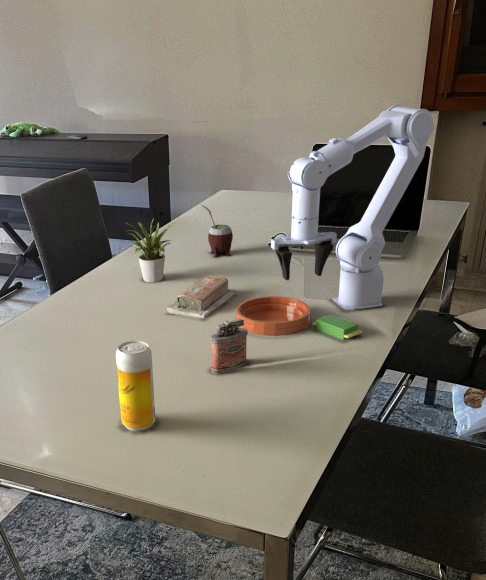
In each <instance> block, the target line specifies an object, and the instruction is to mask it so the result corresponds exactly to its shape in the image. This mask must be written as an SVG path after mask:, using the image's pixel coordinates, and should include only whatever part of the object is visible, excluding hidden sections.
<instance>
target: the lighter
mask: <svg viewBox="0 0 486 580" xmlns="http://www.w3.org/2000/svg"><path fill="white" fill-rule="evenodd" d="M240 326H244V320H243V319H242V318H240V319H237V320H236V319H233V320H231V321H229V320H224V321H223V322H222V323H221V324H217V325H215V328H216V329H215V330H216V333H214V334H212V335H211V336H210V342H211V367H210V368H211V369H210V370H211V373H212V374H216V375H220V374H225V373H230V372H234V371H237V370H240V369H243V368H245V367H247V365H246V364H247V363H248V360H247V338H248V337H247V336H248V333H249V332H248V330H247V329H245V328H240Z"/></svg>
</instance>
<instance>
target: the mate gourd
mask: <svg viewBox="0 0 486 580" xmlns="http://www.w3.org/2000/svg"><path fill="white" fill-rule="evenodd" d="M200 206H201V207H202V208H204V209H205V210H206V211H207V214H208V215H209V217H210V220H211V224H212V226H211V227H210V228H209V230H208V235H207V241H208V244H209V246H210V250H211V251H210V254H212V255H214V258H218V257H220V256H227V257H230V256H231V253H230V252H231V248H232V244H233V237H234V234H233V230H232V227H231V226H229V225H228V224H216V223H215V222H214V219H213V215H212V211H211V210H210V209H209V208H208V207H207V206H205V205H203V204H200Z"/></svg>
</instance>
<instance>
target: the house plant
mask: <svg viewBox="0 0 486 580" xmlns="http://www.w3.org/2000/svg"><path fill="white" fill-rule="evenodd" d="M153 222H154V219H152V220H151V223H150V226H152V224H153ZM125 224H126V225H129V226H131V227H132V228H133V230H130V229H129V230H127V229H126V232H128V231H129V232H130V231H131V232H134V233H135V234H136V235H135V234H133V233H127V235H132V236H133V237H134V238H135V239H136V240H135V241H132V243H131V244H133V246H132V245H130V246H128V247H129V248H130V247H131V248H135V250H134V254H136V253H138V252H140V253H141V254H140V255H139V256H138V261H139V267H140V271H141V275H142V279H143V281H144V282H147V283H158V282H161V281H162V280H163V279H164V269H165V260H166V255H165V247H166V246H167V245H171V244H172V243H171V241H173V240H171V239H170V240H166V239H165V240H162V237H163V236H164V235H165V234H166V232H167V231H168V230H169V228H170V227H172V226H173V225H174V224H175V222H172V223H171V224H169V225H167V227H165V228H164V229H163V231H161V232H160V233H159V229H160V223H159V222H157V223H156V225H157V226H156V225H154V226H153V227H150V229H149V233H148V232H147V230H146V228H145V226H144V224H143V223H142V222H141V221H140V220H139V221H138V225H139V227H140V228H141V232H142V233H143V236H144V238H145V239H144V238H143V236H142V235H141V234H140V233H139V230H138V229H137V228H136V227H135V226H134V225H132V224H130V223H127V222H125ZM154 227H156V228H155V233H154V236H152V235H153V231H154ZM137 236H138V237H139V238H140V239H141V241H142V242H143V244H144V245H143V244H142V242H141V241H140V239H139V238H138V237H137ZM161 240H162V241H161ZM164 243H165V244H164ZM161 252H162V253H161Z"/></svg>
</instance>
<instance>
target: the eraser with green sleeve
mask: <svg viewBox="0 0 486 580" xmlns="http://www.w3.org/2000/svg"><path fill="white" fill-rule="evenodd" d="M315 320H316V321H313V322H312V323H311V325H312V326H314V327H315V330H317V331H320V332H323V333H325V334H327V335H329V336H330V335H331V336H332V337H335V338H338V339H340V340H343V341H344V340H346V339H350V338H353V337H355V336H358V335H361V334H363V331H362V330H361V329H359V324H357V323H355V322H353V321H349V320H347V319H344V318H341V317H339V316H336V315H333V314H332V313H331V314H327V315H325V316H322V317H320V318H317V319H315Z"/></svg>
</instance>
